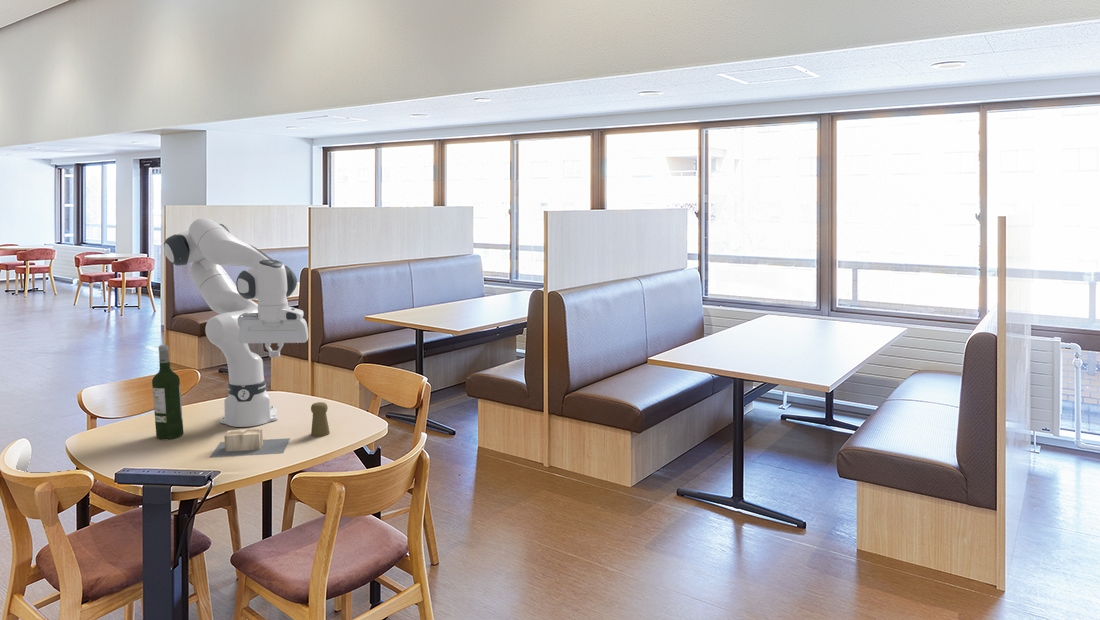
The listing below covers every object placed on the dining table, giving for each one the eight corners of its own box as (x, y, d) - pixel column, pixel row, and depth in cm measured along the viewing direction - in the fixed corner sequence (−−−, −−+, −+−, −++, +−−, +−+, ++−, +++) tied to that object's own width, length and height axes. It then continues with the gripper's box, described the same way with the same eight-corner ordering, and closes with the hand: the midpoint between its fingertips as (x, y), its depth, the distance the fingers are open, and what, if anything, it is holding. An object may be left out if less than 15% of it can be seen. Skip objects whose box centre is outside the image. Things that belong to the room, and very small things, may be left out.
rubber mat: (220, 443, 234) (220, 442, 234) (290, 440, 238) (290, 438, 238) (209, 459, 220) (209, 457, 220) (283, 455, 224) (283, 453, 224)
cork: (309, 439, 239) (308, 406, 237) (311, 433, 245) (310, 401, 243) (329, 437, 240) (327, 405, 238) (330, 432, 246) (329, 400, 244)
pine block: (263, 444, 232) (229, 446, 230) (262, 428, 231) (228, 430, 229) (259, 449, 227) (225, 451, 225) (259, 433, 226) (224, 435, 224)
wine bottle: (151, 437, 239) (143, 346, 235) (173, 430, 246) (166, 342, 242) (166, 441, 236) (159, 349, 231) (188, 434, 243) (182, 344, 238)
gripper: (234, 315, 223) (237, 359, 225) (305, 314, 226) (307, 358, 229) (239, 311, 229) (241, 354, 231) (308, 311, 233) (309, 353, 235)
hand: (274, 356), depth 230 cm, fingers closed
